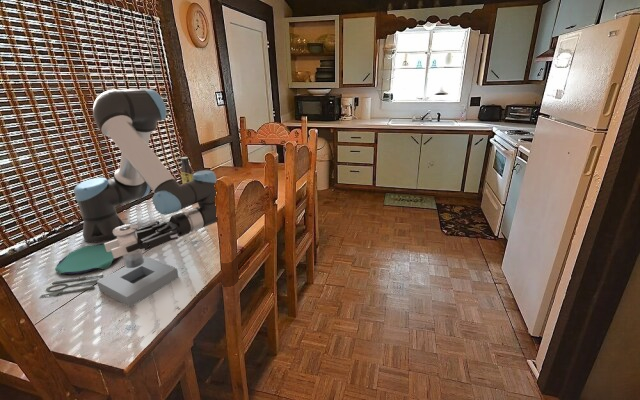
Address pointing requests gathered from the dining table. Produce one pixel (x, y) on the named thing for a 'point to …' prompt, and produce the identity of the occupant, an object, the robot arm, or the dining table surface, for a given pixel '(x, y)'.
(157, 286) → the jig
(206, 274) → the dining table surface
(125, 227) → the bushing
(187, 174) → the sauce bottle
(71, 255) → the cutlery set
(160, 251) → the dining table surface
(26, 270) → the dining table surface
